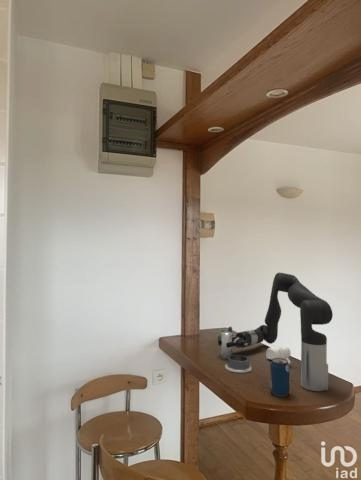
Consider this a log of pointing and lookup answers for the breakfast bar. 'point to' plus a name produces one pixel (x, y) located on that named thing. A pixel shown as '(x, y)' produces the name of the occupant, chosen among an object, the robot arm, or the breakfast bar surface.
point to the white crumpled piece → (278, 353)
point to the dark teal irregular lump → (225, 331)
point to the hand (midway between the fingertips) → (222, 344)
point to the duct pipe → (224, 340)
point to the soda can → (279, 377)
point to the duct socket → (238, 364)
